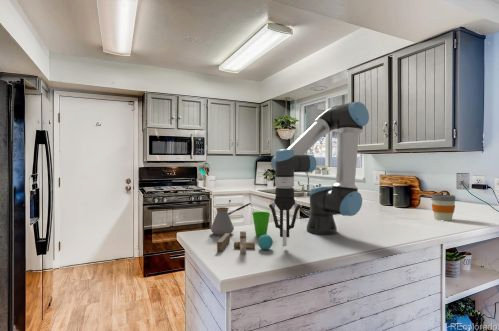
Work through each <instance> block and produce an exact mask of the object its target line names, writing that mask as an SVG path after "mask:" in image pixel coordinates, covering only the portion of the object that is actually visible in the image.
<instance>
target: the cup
mask: <svg viewBox="0 0 499 331" xmlns="http://www.w3.org/2000/svg"><path fill="white" fill-rule="evenodd" d="M251 214H252V218H253V219H252V220H253V224H254V231H255V233H254V234H255V236H256V235H257V236H256V237H258V236H262V235H268V227H269V223H270V222H269V221H270V215H271V212H269V211H264V210H263V211H260V210H259V211H253V212H251Z"/></svg>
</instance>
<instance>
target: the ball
mask: <svg viewBox="0 0 499 331" xmlns="http://www.w3.org/2000/svg"><path fill="white" fill-rule="evenodd" d="M273 243H274V242H273V238H272V237H271V236H270V235H268V234H267V235H262V236H260V237H259V238H258V240H257V245H258V246H259V248H260V249H262V250H269V249H271V248H272V246H273Z"/></svg>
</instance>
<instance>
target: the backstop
mask: <svg viewBox="0 0 499 331" xmlns="http://www.w3.org/2000/svg"><path fill="white" fill-rule="evenodd" d="M229 242H230V243H231V233H225V234H224V235H223V236H220V238H219V239H218V240H217V241H216V253H224V250H225V249H226V248H227V247H228V245H230V243H229ZM226 246H227V247H226Z"/></svg>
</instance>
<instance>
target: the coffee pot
mask: <svg viewBox="0 0 499 331" xmlns="http://www.w3.org/2000/svg"><path fill="white" fill-rule="evenodd" d="M249 206H253V204H252V203H251V202H249V203H246V204H244V205H241V206H240V207H238V208H236V209H234V210H232V211H230V212H228V211H229V210H230V208H229V207H217V208H215V210H216V215H215V217H214V220H213V223H212V224H211V227H210V230H211V232H212V234H214V236H216V235H224V234H225V233H230V234H232V233H233V232H234V231H235V230H234V225H233V222H232V220H231V218H230V215H232V214H234V213H235V212H238V211H241V210H242V209H244V208H246V207H249Z"/></svg>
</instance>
